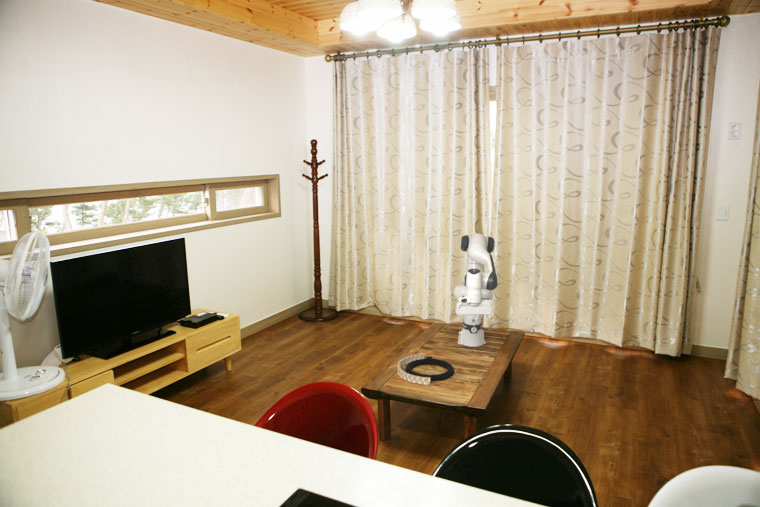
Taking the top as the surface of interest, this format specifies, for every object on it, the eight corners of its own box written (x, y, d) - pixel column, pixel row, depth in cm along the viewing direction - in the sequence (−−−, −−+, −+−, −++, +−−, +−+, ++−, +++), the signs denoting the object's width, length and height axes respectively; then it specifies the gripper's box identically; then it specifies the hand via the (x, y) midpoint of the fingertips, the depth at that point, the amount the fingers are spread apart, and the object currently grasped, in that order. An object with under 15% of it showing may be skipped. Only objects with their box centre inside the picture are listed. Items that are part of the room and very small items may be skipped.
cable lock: (404, 375, 282) (406, 355, 312) (404, 382, 283) (406, 361, 312) (455, 376, 280) (452, 356, 309) (455, 383, 280) (452, 362, 310)
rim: (395, 359, 314) (395, 354, 314) (424, 359, 315) (424, 353, 314) (398, 385, 278) (398, 379, 277) (430, 384, 278) (430, 378, 277)
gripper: (491, 296, 292) (490, 320, 295) (454, 297, 292) (454, 320, 295) (493, 299, 286) (492, 323, 288) (456, 299, 286) (456, 324, 288)
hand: (473, 322), depth 292 cm, fingers closed
